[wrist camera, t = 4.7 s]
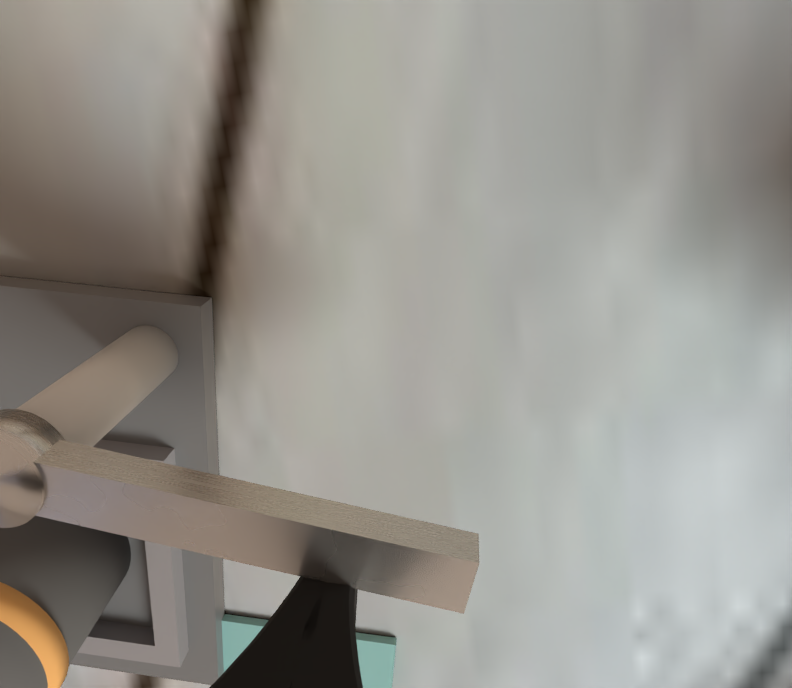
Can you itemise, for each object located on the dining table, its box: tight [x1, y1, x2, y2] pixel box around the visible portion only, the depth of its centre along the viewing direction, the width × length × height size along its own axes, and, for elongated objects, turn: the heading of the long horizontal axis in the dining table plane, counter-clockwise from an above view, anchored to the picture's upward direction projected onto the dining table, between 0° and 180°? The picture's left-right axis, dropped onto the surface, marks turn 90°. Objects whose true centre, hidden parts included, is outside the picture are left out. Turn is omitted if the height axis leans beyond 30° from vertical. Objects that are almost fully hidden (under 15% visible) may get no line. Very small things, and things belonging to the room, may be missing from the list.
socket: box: [0, 276, 225, 685], centre depth 17 cm, size 9×14×6 cm, turn 176°
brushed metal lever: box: [0, 409, 479, 613], centre depth 12 cm, size 10×2×1 cm, turn 79°
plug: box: [0, 516, 131, 688], centre depth 18 cm, size 5×5×5 cm
